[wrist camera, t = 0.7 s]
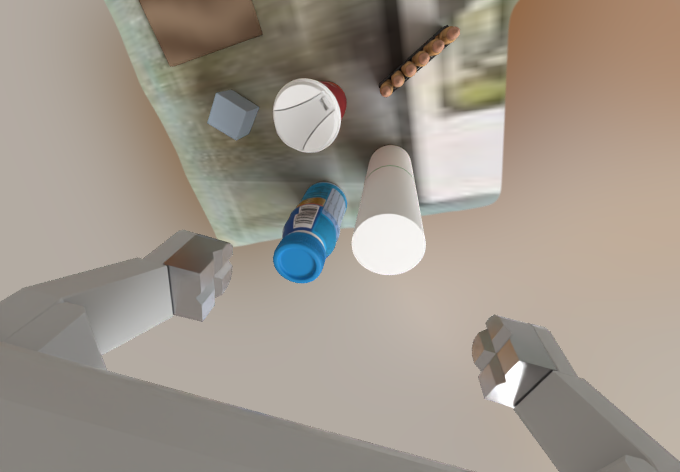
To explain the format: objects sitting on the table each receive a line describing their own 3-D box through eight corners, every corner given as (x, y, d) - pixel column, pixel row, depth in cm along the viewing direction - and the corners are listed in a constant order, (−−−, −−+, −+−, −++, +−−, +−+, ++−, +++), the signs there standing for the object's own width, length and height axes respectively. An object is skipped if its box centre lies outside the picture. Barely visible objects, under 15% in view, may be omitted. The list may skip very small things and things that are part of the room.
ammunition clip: (385, 95, 44) (383, 106, 34) (378, 84, 43) (374, 92, 33) (450, 39, 39) (470, 32, 29) (443, 26, 39) (461, 15, 28)
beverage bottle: (357, 198, 53) (341, 262, 36) (331, 228, 58) (307, 298, 41) (319, 170, 52) (284, 225, 35) (296, 204, 56) (255, 266, 39)
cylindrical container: (368, 185, 52) (351, 272, 31) (369, 144, 48) (351, 212, 27) (409, 186, 51) (421, 277, 30) (413, 145, 47) (430, 215, 26)
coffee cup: (334, 60, 42) (310, 61, 30) (363, 111, 45) (353, 131, 33) (291, 95, 46) (253, 109, 33) (321, 140, 49) (297, 168, 36)
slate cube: (231, 89, 47) (216, 92, 43) (259, 107, 48) (246, 111, 43) (223, 117, 49) (207, 123, 45) (249, 133, 50) (236, 140, 46)
